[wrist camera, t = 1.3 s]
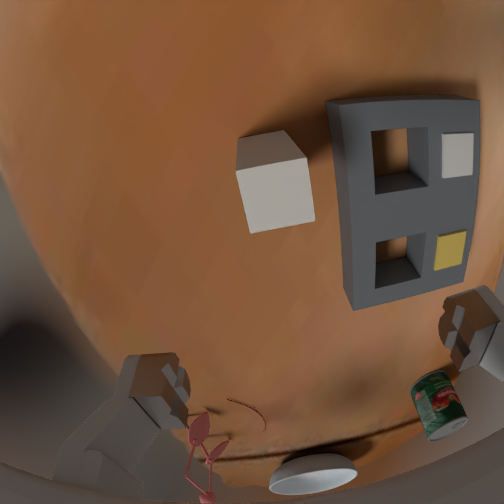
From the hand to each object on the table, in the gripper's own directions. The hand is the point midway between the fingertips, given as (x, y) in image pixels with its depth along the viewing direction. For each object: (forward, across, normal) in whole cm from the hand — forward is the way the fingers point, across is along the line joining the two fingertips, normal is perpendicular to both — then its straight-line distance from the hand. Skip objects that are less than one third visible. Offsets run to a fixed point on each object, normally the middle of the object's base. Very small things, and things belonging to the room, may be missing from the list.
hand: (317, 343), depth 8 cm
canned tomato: (+22, -23, +44) cm, 54 cm away
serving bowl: (+22, +1, +70) cm, 73 cm away
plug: (+21, 0, 0) cm, 21 cm away
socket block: (+21, -13, +6) cm, 25 cm away
